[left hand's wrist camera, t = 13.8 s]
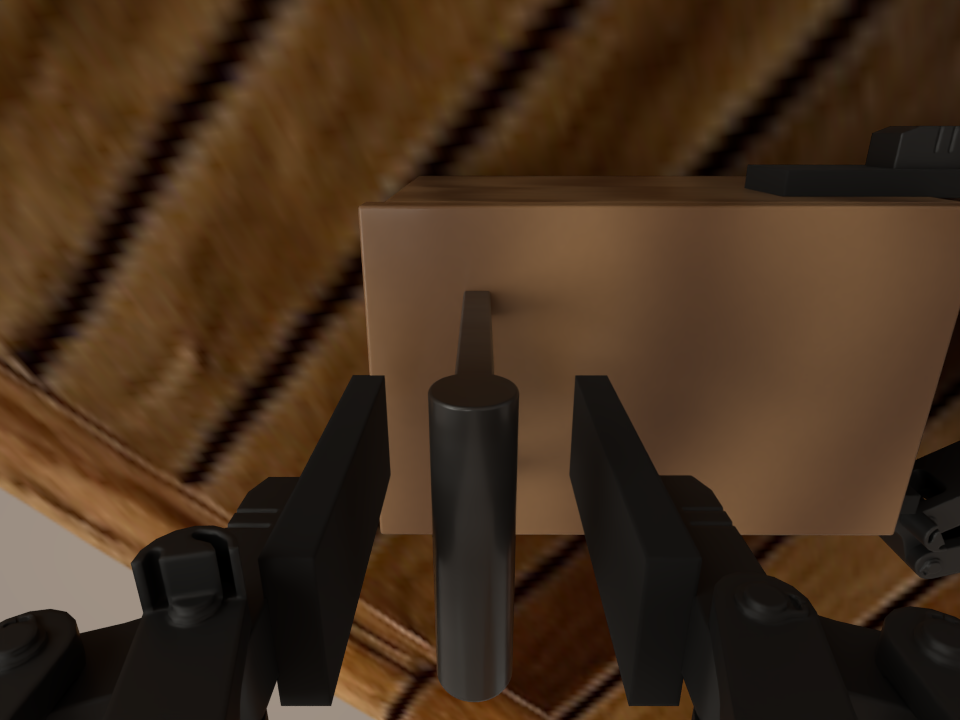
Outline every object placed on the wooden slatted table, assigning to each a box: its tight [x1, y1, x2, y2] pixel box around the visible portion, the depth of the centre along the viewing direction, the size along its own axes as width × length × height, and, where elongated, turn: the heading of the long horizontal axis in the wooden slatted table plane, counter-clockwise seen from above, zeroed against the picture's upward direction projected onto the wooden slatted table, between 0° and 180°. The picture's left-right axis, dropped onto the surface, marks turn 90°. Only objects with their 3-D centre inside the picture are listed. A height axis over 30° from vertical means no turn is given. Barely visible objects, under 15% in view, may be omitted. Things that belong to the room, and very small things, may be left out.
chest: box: [385, 176, 960, 203], centre depth 22 cm, size 15×10×10 cm, turn 90°
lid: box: [358, 202, 960, 702], centre depth 14 cm, size 16×10×8 cm, turn 90°
